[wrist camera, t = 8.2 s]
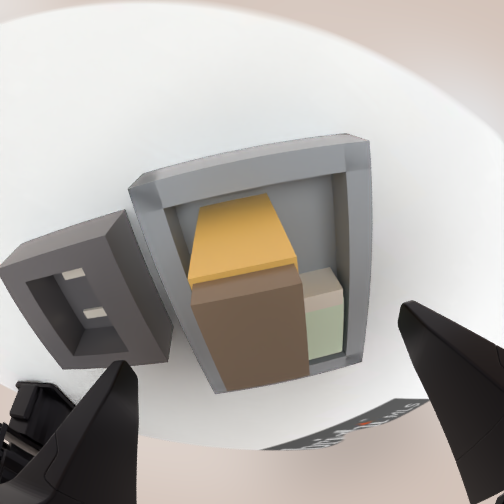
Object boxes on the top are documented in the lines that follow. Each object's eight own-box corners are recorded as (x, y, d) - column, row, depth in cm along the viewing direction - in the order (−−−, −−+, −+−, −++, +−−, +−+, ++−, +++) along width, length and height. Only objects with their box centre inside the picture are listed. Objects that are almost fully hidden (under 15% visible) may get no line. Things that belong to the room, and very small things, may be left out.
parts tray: (349, 336, 20) (361, 361, 18) (214, 366, 20) (215, 393, 18) (346, 133, 13) (369, 140, 11) (142, 173, 13) (127, 188, 11)
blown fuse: (279, 273, 16) (312, 377, 10) (221, 285, 16) (226, 394, 10) (266, 192, 14) (305, 276, 7) (199, 207, 14) (184, 300, 7)
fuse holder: (173, 326, 18) (168, 362, 15) (75, 338, 18) (62, 369, 15) (125, 209, 14) (104, 235, 11) (21, 243, 14) (-4, 269, 11)
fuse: (332, 329, 18) (342, 352, 17) (289, 340, 18) (295, 364, 17) (331, 266, 16) (344, 288, 14) (279, 278, 16) (287, 302, 14)
